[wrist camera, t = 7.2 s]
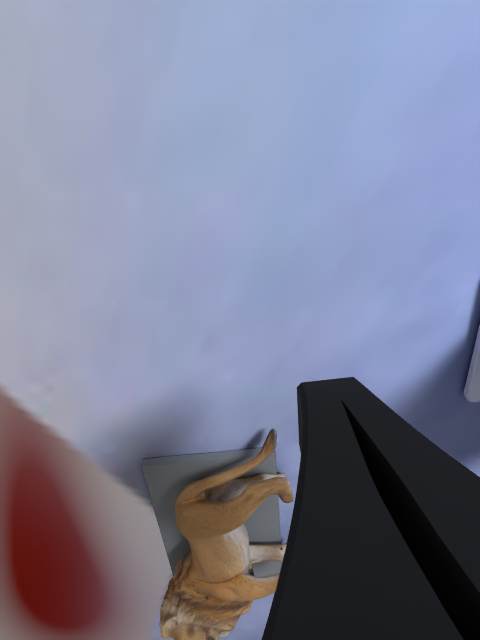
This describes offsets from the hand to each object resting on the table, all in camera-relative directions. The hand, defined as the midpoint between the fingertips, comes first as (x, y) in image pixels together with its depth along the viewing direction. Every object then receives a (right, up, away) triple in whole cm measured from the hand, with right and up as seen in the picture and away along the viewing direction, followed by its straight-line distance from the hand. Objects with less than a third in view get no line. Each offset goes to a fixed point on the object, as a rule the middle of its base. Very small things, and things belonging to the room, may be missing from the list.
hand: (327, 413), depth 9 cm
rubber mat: (-3, -12, +16) cm, 20 cm away
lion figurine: (+1, -11, +13) cm, 17 cm away
